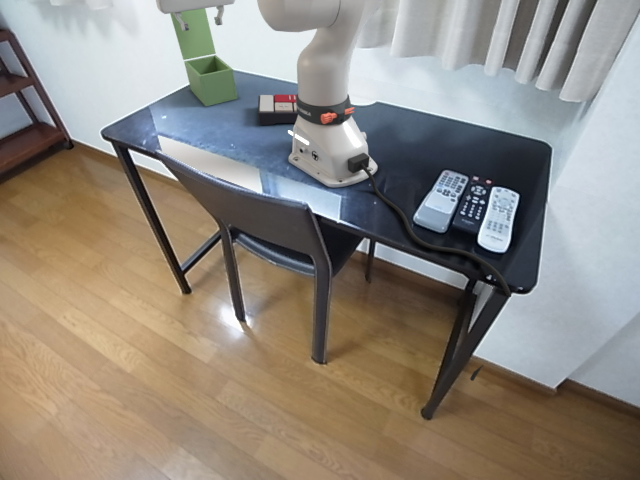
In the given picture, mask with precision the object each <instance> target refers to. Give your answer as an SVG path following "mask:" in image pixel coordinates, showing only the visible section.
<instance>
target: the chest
mask: <svg viewBox="0 0 640 480" xmlns="http://www.w3.org/2000/svg"><path fill="white" fill-rule="evenodd" d="M183 63H184V67H185V71H186V75H187V79H188V84H189V88H190V91H191V92H192V93H193V94H194V96H196V98H197V99H198V100H199V101H200V102H201V103H202V104H203V105H204V106H205V107H210V106H214V105H218V104H221V103H226V102H230V101H234V100H238V93H237V86H236V80H235V75H234V68H232V67H231V66H230V65H229V64H227V63H226V62H224V61H223V60H222V59H221V58H220V57H219V56H218V55H216V54H213V55H208V56H203V57H198V58H193V59H188V60H183Z"/></svg>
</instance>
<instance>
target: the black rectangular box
mask: <svg viewBox="0 0 640 480" xmlns="http://www.w3.org/2000/svg"><path fill="white" fill-rule="evenodd" d="M296 96H297V94H274V95H273V94H260V95H258V101H257V102H258V105H257V119H258V125H259V126H273V125H275V124H295V123H296V120H297V117H298V113H297V107H296Z"/></svg>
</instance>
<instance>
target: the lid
mask: <svg viewBox="0 0 640 480" xmlns="http://www.w3.org/2000/svg"><path fill="white" fill-rule="evenodd" d="M169 15H170V18H171V21H172V26H173V29H174V32H175V35H176V39H177V43H178V47H179V49H180V53H181V57H182V60H183V61H187V60H192V59H197V58H202V57H207V56H212V55H216V52H217V51H216V48H215V45H214V40H213V35H212V32H211V27H210V22H209V19H208V14H207V10H206V8H203V9H196V10H189V11H183V12H181V17H180V18H181V20H182V21H183V22H186V23H188V28H189V30H188V31H183V30H182V28H181V24H180V22H179V21H178V20H177V19H176V17H175V16H174V13H169Z"/></svg>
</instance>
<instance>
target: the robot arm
mask: <svg viewBox="0 0 640 480" xmlns="http://www.w3.org/2000/svg"><path fill="white" fill-rule="evenodd" d="M383 1H384V0H256V3H257V6H258V7H257V8H258V10H259V13H260V15H261V17H262V19H263V20H264V22H265V23H266V24H267V26H268V27H269V28H271V29H272V30H273V31H275V32H283V33H301V32H307V31H312V30H313V31H314V30H316V31H315V34H314V35H313V37H312V39H311V41H310V42H309V43H308V44H307V45H306V47H304V48H303V49H302V51H300V53H299V55H298V57H297V61H296V75H297V76H296V79H297V94H296V95H297V96H296V107H297V113H298V117H297V120H296V123H294V125H293V127H292V130H291V129H290V130H287V133H288V134H289V135H291V136H292V148H291V149H292V150H291V151H292V152H291V153H290V154H289V155H288V162H289V163H290V164H292V166H295V167H296V168H298V169H299V170H300V171H302V172H304V173H305V174H307V175H309V176H310V177H312V178H313V179H315V180H317V181H318V182H320V184H323V185H325V186H326V187H328V188H343V187H347V186H351V185H355V184H357V183H360V182H363V181H366V180H367V179H369V180H370V182H371V186H372V189H373V191H374V193H375V194H376V196H377V197H378V198H380V199H381V200H382V202H385V204H387V205H388V206H389V207H391V208H392V209H394V210H395V211H396V212H397V213H398V214H399V215H400V217H401V220H402V221H403V223H404V226H405V229H406V230H407V233H408V234H409V236H410V237H411V238H412V240H414V241H415V242H416V243H418V244H419V245H421V246H422V247H424V248H427V249H430V250H434V251H438V252H439V251H440V252H446V253H453V254H454V253H455V254H459V255H463V256H465V257H468V258H470V259H471V260H474V261H475V262H478V263H479V264H481V265H482V266H484V267H485V268H487V270H489V271H490V272H491V273H492V274H493V275H494V277H495V278H496V279H497V280H498V282H499V284H500V285H501V286H502V288H503V292H504V294H505V296H506V297H508V298H511V297H512V293H511V290H510V288H509V286H508V283H507V282H506V280H505V278H504V277H503V275H502V274H501V272H499V271H498V270H497V269H496V268H495V267H494V266H492V265H491V264H490V263H489V262H487V261H486V260H484V259H482V258H481V257H479V256H477V255H476V254H474V253H471V252H469V251H466V250H465V249H464V250H463V249H459V248H454V247H448V246H446V247H445V246H439V245H434V244H432V243H431V244H430V243H428V242H426V241H424V240H422V239H421V238H419V237H418V236H417V235H416V233H414V231H413V230H412V228H411V227H412V226H411V225H410V222H409V220H408V218H407V216H406V214H405V212H403V210H402V209H401V208H400V207H398V206H397V205H396V204H395V203H394V202H391V201H390V200H389V199H388V198H386V197H385V196H383V194H382V193H381V192H380V191H379V189H378V188H377V184H376V180H375V178H374V174H376V172H377V171H378V164H377V163H376V161H375V160H374V159H373V158H372V157H371V156H370V155H369V146H368V143H367V133H366V132H365V131H361V130H360V128H359V126H358V124H357V123H356V120H355V119H354V117H353V113H355V111H354V109H355V107H354V106H353V107H352V103H351V100H350V99H351V98H350V94H349V80H350V70H351V63H352V57H353V53H354V51H355V48H356V45H357V43H358V40H359V38H360V36H361V34H362V31H363V30H364V28H365V26H366V25H367V23H368V21H369V20H370V19H371V18H372V16H373V15H374V14H376V13H377V11H378V10H379V9H380V7H381V6H382V4H383ZM235 2H236V0H155V3H156V7H157V9H158V11H159V12H161V13H162V14H164V15H170V13H174V16H175V17H176V19H177V20H178V21H179V22H180V24H181V28H182V30H183V31H188V30H189V28H188V23H186V22H183V21H182V20H181V18H180V17H181V12H183V11H189V10H196V9H203V8H205V9H209V8H216V10H218V11H217V15H216V16H214V24H215V25H216V26H223V19H222V18H223V16H224V14H225V13H224V12H225V6H229V5H234V4H235ZM483 367H484V364H482V365H481V366H480V367H478V368H477V369H476V370H474V371H473V372H472V374H471V376H470V378H469V380H470V381H472V382H474V381H475V379H476V377H477V376H478V375H479V373H480V371H481V370H482V368H483Z"/></svg>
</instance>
